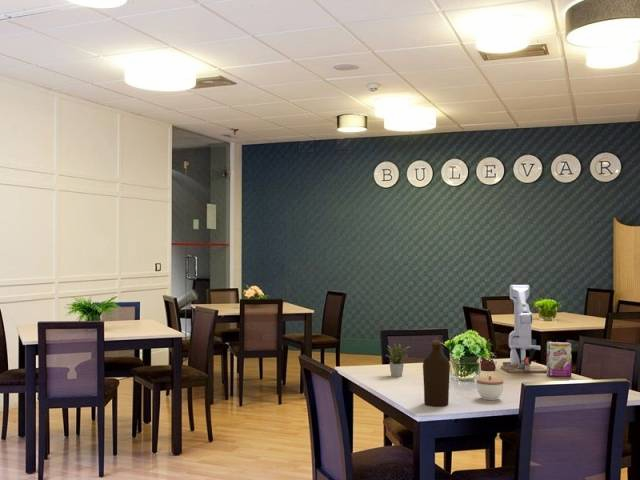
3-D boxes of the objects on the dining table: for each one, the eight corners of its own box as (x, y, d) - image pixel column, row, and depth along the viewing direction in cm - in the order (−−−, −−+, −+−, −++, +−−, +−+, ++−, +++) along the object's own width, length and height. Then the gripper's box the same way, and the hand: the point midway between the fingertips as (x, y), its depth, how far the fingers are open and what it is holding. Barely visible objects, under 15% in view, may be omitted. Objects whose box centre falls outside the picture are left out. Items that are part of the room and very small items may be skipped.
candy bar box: (548, 376, 346) (548, 343, 346) (546, 374, 351) (546, 341, 351) (572, 377, 345) (572, 343, 345) (569, 375, 350) (569, 342, 350)
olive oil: (442, 408, 271) (442, 343, 272) (417, 404, 277) (418, 340, 278) (454, 403, 280) (454, 340, 280) (430, 400, 286) (430, 338, 287)
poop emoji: (477, 368, 372) (477, 350, 372) (493, 368, 372) (493, 350, 372) (481, 371, 362) (481, 352, 362) (498, 371, 362) (498, 352, 362)
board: (500, 368, 371) (500, 361, 371) (539, 368, 371) (539, 361, 371) (508, 372, 356) (508, 365, 356) (549, 373, 356) (549, 366, 356)
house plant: (414, 378, 336) (414, 344, 337) (385, 378, 336) (385, 344, 337) (410, 374, 351) (410, 341, 351) (382, 373, 350) (382, 340, 351)
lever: (517, 365, 371) (517, 354, 371) (526, 365, 370) (526, 354, 370) (520, 370, 355) (520, 358, 355) (530, 370, 354) (530, 358, 354)
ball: (512, 368, 366) (510, 362, 366) (517, 366, 366) (516, 361, 366) (514, 368, 363) (512, 363, 363) (519, 367, 363) (518, 361, 363)
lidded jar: (473, 396, 295) (473, 373, 295) (498, 396, 296) (498, 373, 296) (480, 401, 284) (481, 378, 284) (507, 401, 285) (507, 378, 285)
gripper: (510, 337, 354) (510, 364, 354) (540, 338, 351) (540, 365, 350) (510, 335, 361) (510, 362, 361) (539, 336, 358) (539, 363, 357)
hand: (525, 363), depth 356 cm, fingers open, 4 cm apart
